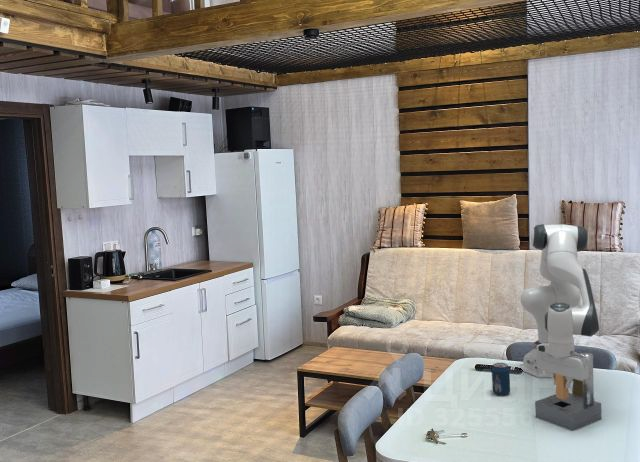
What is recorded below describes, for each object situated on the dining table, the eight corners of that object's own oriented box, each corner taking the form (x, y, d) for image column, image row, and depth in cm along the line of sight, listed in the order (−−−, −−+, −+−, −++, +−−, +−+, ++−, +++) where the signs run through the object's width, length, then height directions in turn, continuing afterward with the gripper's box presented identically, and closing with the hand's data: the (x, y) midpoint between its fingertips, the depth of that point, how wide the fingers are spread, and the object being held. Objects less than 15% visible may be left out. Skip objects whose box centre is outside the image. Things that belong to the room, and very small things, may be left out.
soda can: (508, 390, 269) (507, 362, 267) (511, 396, 262) (510, 367, 261) (491, 390, 269) (490, 362, 268) (494, 396, 263) (493, 367, 261)
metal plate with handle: (535, 417, 240) (533, 353, 237) (564, 406, 248) (562, 345, 246) (572, 430, 226) (570, 363, 224) (601, 419, 234) (600, 354, 232)
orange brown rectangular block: (556, 397, 235) (555, 370, 234) (561, 395, 236) (560, 368, 235) (563, 399, 232) (562, 372, 231) (568, 397, 234) (567, 370, 233)
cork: (589, 403, 249) (588, 376, 248) (572, 403, 250) (571, 375, 249) (586, 398, 255) (585, 370, 254) (569, 398, 256) (569, 370, 255)
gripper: (592, 353, 226) (593, 391, 227) (544, 341, 243) (545, 377, 244) (580, 356, 222) (581, 396, 224) (532, 345, 240) (533, 381, 241)
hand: (562, 386), depth 234 cm, fingers closed on orange brown rectangular block, 3 cm apart
